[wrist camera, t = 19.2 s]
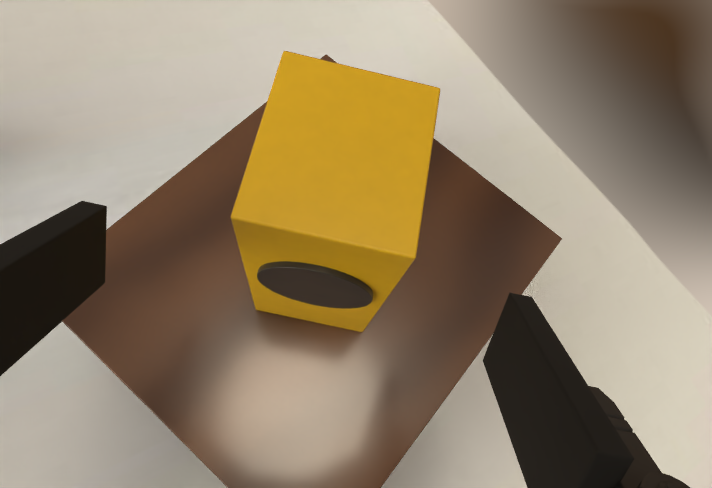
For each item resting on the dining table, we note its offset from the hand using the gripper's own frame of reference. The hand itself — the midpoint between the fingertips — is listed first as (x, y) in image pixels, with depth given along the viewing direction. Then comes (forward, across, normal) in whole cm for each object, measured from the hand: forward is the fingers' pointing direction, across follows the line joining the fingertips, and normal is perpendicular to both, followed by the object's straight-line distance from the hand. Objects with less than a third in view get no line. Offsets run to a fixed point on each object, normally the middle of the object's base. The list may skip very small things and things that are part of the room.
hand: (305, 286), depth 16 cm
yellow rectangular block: (+11, 0, -4) cm, 12 cm away
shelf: (+18, 0, -12) cm, 22 cm away
